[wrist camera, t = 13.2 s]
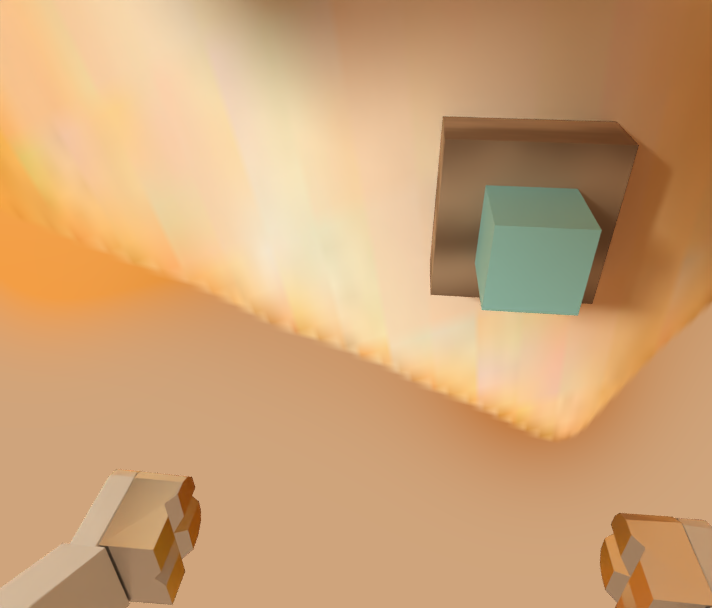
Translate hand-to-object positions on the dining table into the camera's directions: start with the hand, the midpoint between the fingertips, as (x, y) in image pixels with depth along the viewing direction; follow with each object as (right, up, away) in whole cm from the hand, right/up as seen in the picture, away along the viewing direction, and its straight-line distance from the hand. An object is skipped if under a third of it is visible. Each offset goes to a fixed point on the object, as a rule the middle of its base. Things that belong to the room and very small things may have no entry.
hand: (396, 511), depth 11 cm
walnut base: (+11, +12, +32) cm, 36 cm away
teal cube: (+11, +9, +28) cm, 31 cm away
